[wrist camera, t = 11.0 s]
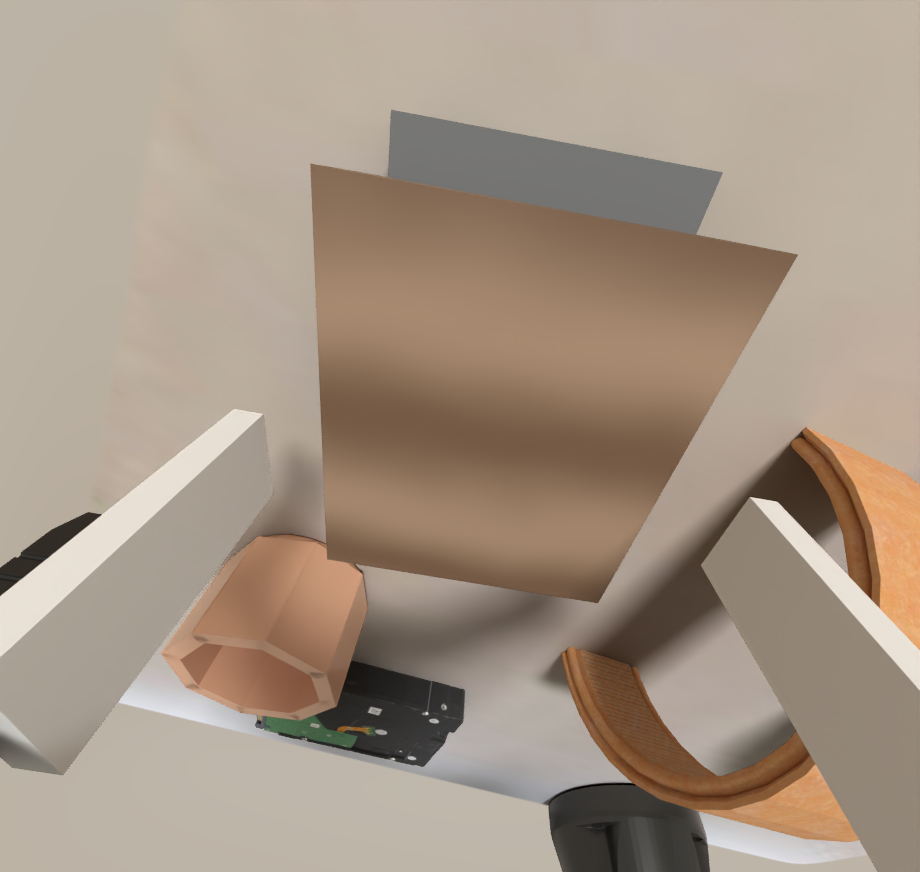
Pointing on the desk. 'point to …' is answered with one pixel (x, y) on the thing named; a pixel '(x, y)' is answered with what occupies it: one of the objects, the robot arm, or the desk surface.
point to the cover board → (512, 376)
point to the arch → (791, 766)
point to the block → (549, 173)
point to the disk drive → (381, 716)
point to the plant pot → (273, 630)
